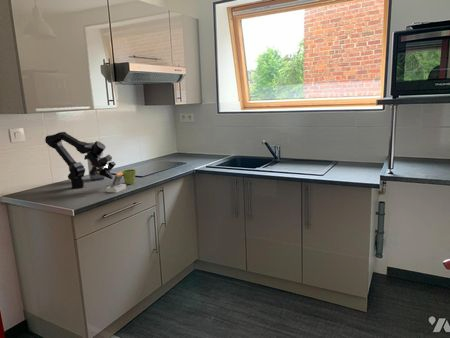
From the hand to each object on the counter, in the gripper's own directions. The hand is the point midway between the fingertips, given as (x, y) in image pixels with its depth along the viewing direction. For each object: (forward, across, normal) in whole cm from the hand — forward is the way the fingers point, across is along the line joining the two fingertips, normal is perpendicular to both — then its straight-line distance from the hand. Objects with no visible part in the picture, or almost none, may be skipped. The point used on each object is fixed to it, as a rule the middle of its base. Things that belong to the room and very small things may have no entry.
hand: (112, 178), depth 211 cm
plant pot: (+6, +16, +4) cm, 18 cm away
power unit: (+6, 0, +3) cm, 7 cm away
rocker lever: (+4, 0, +1) cm, 4 cm away
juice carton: (-15, +23, +26) cm, 38 cm away
